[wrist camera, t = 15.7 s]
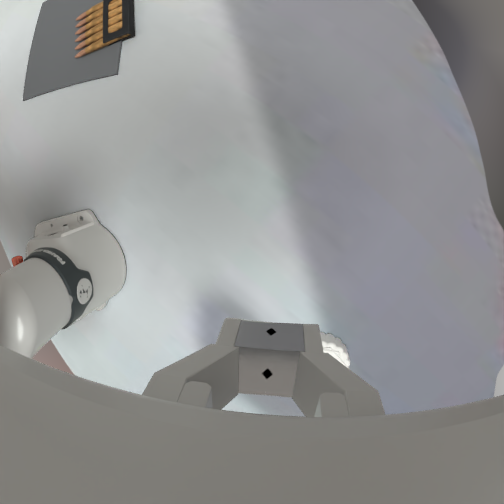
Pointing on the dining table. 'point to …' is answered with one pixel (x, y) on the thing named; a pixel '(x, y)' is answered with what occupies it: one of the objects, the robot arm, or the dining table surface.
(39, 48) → the slate mat
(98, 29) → the ammunition clip
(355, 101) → the dining table surface
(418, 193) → the dining table surface
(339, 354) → the mooncake
